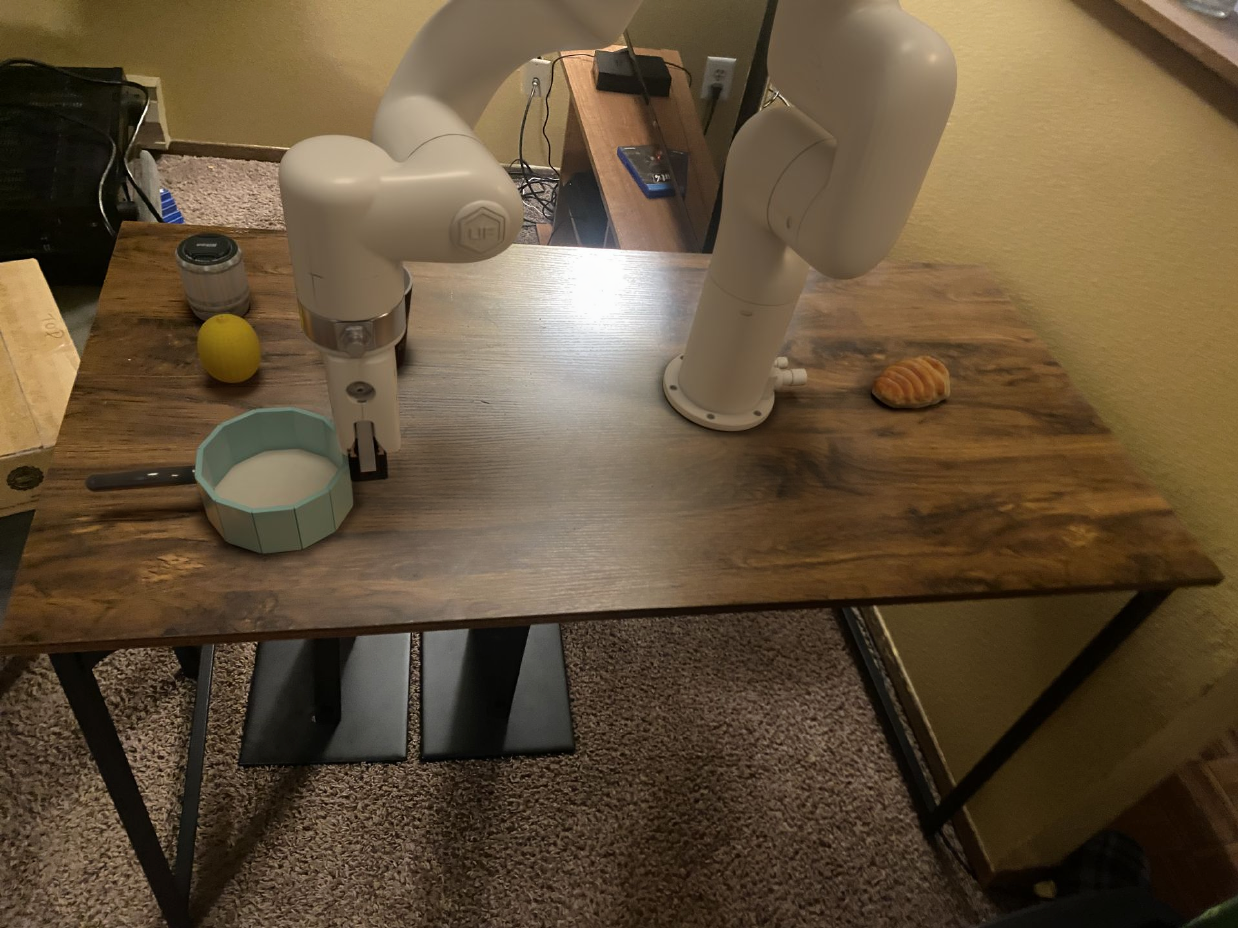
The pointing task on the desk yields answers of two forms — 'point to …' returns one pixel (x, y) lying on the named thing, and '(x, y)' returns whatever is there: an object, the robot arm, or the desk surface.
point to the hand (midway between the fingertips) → (369, 474)
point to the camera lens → (213, 275)
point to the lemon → (229, 348)
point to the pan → (260, 479)
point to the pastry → (913, 383)
